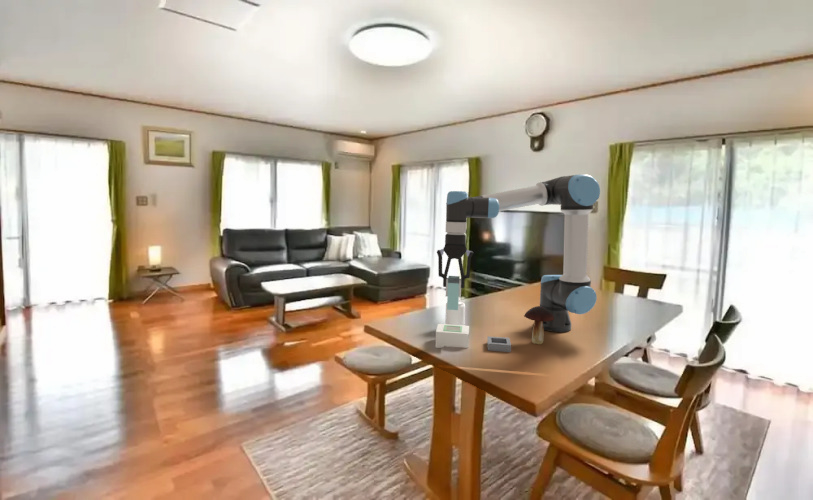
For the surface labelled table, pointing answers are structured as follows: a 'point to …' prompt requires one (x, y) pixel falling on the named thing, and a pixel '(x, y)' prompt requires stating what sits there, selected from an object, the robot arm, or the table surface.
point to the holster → (499, 344)
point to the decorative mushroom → (538, 322)
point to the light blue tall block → (453, 292)
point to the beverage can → (456, 315)
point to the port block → (452, 336)
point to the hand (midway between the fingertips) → (453, 295)
